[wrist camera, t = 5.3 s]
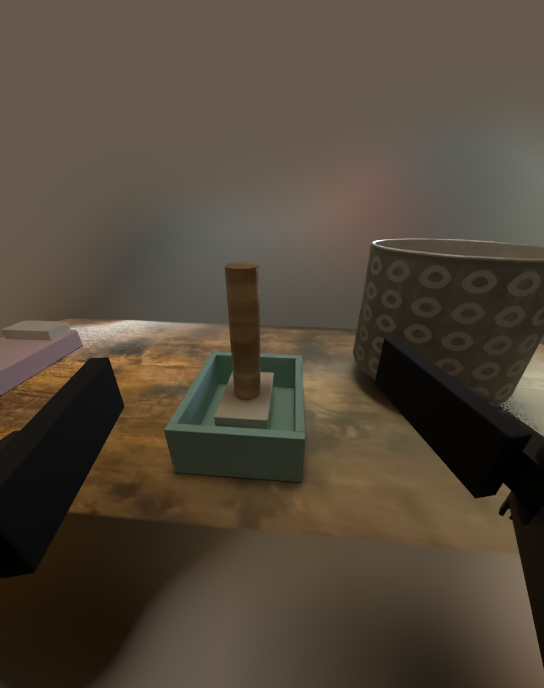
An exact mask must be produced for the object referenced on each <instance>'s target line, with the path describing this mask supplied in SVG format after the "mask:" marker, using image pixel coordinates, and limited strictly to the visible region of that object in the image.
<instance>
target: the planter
mask: <svg viewBox="0 0 544 688" xmlns="http://www.w3.org/2000/svg"><path fill="white" fill-rule="evenodd" d="M543 336H544V246H536V245H526V244H515V243H503V242H489V241H472V240H449V239H389V240H379V241H374V242H372V244H371V249H370V255H369V261H368V267H367V273H366V278H365V285H364V290H363V297H362V302H361V309H360V314H359V320H358V326H357V332H356V338H355V344H354V350H353V355H354V358H355V361H356V362H357V364H358V365H359V367H360V368H361V369H362V370H363V371H364V372H365V373H367V374H368V375H369V376H370V377H372V378H373V379H375V378H376V373H377V369H378V364H379V360H380V355H381V351H382V346H383V341H384V338H397V337H398V338H399V339H401V340H402V341H404V342H405V343H406V344H408V345H409V346H410V347H412V348H413V349H415V350H416V351H417V352H419V353H420V354H422V355H423V356H424V357H426V358H427V359H429V360H430V361H431V362H433V363H434V364H435V365H437V366H438V367H440V368H441V369H442V370H444V371H445V372H447V373H448V374H449V375H451V376H452V377H454V378H455V379H456V380H458V381H459V382H460V383H462V384H463V385H466V386H468V387H470V388H472V389H474V390H476V391H479V392H480V393H482V394H483V395H485V396H486V397H488V398H489V399H490V400H492V402H493V403H496V404H497V405H498V404H500V403H503V402H505V401H506V400H507V399H509V398H510V397H511V396H512V394H513V392H514V390H515V388H516V386H517V384H518V383H519V381H520V379H521V377H522V375H523V373H524V371H525V369H526V368H527V366H528V364H529V362H530V360H531V358H532V356H533V354H534V352H535V351H536V349H537V347H538V345H539V343H540V341H541V339H542V337H543Z"/></svg>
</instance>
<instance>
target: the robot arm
mask: <svg viewBox="0 0 544 688" xmlns="http://www.w3.org/2000/svg"><path fill="white" fill-rule="evenodd" d="M374 383H375V384H376V385H377V386H378V388H379V389H380V390H381V391H382V392H383V393H384V394H385V396H386V397H387V398H388V399H389V400H390V401H391V402H392V404H393V405H394V406H395V407H396V408H397V409H398V410H399V412H400V413H401V414H402V415H403V416H404V417H405V418H406V420H407V421H408V422H409V423H410V424H411V425H412V426H413V428H414V429H415V430H416V431H417V432H418V433H419V434H420V436H421V437H422V438H423V439H424V440H425V441H426V443H427V444H428V445H429V446H430V447H431V448H432V449H433V451H434V452H435V453H436V454H437V455H438V456H439V457H440V459H441V460H442V461H443V462H444V463H445V464H446V465H447V467H448V468H449V469H450V470H451V471H452V472H453V473H454V475H455V476H456V477H457V478H458V479H459V480H460V481H461V483H462V484H463V485H464V486H465V487H466V488H467V489H468V491H469V492H470V493H471V494H472V495H473V496H474V497H475V498H480V497H486V496H492V495H496V493H497V491H498V490H499V488H500V487H501V485H502V483H504V484H505V485H506V486H507V487H508V488H509V489H510V490H511V492H510V494H509V495H508V497H507V498H506V500H505V501H504V503H503V504H502V506H501V507H500V509H499V514H500V515H502V516H503V515H504V514H505V512H506V511H507V510H508V509H510V511H511V516H510V517H509V519H511V520H513V525H514V530H515V534H516V539H517V544H518V549H519V553H520V558H521V563H522V567H523V572H524V577H525V582H526V586H527V591H528V595H529V601H530V605H531V610H532V615H533V620H534V624H535V629H536V634H537V639H538V643H539V648H540V652H541V658H542V662H543V667H544V437H543V436H542V435H540V434H539V433H537V432H536V431H534V430H533V429H532V428H530V427H529V426H527V425H526V424H525V423H523V422H522V421H520V420H519V419H517V418H516V417H515V416H513V415H512V414H510V413H509V412H507V411H506V410H503V408H502V407H500V406H499V405H497V404H496V403H493V402H492V400H490V399H489V398H488V397H486V396H485V395H483V394H482V393H480V392H479V391H476V390H474V389H472V388H470V387H468V386H466V385H463V384H462V383H460V382H459V381H458V380H456V379H455V378H454V377H452V376H451V375H449V374H448V373H447V372H445V371H444V370H442V369H441V368H440V367H438V366H437V365H435V364H434V363H433V362H431V361H430V360H429V359H427V358H426V357H424V356H423V355H422V354H420V353H419V352H417V351H416V350H415V349H413V348H412V347H410V346H409V345H408V344H406V343H405V342H404V341H402V340H401V339H399V338H398V337H397V338H384V341H383V346H382V351H381V355H380V360H379V364H378V369H377V373H376V378H375V382H374ZM123 408H124V403H123V400H122V397H121V394H120V391H119V388H118V385H117V382H116V379H115V376H114V372H113V369H112V366H111V363H110V360H109V357H106V358H92V359H89V360H88V361H87V362H86V363H85V364H84V365H83V366H82V367H81V368H80V369H79V370H78V371H77V372H76V373H75V375H74V376H73V377H72V378H71V379H70V380H69V381H68V382H67V383H66V384H65V385H64V386H63V387H62V388H61V389H60V390H59V391H58V392H57V393H56V394H55V395H54V396H53V397H52V398H51V399H50V401H49V402H48V403H47V404H46V405H45V406H44V407H43V408H42V409H41V410H40V411H39V412H38V413H37V414H36V415H35V416H34V417H33V418H32V419H31V420H30V421H29V422H28V423H27V424H26V426H25V427H24V428H23V429H22V430H21V431H13V432H12V433H10V434H9V435H7V436H6V437H4V438H3V439H1V440H0V577H1V578H7V577H13V576H19V575H25V574H31V573H35V571H36V569H37V567H38V566H39V564H40V562H41V560H42V558H43V556H44V554H45V553H46V551H47V549H48V547H49V545H50V543H51V542H52V540H53V538H54V536H55V534H56V532H57V530H58V529H59V527H60V525H61V523H62V521H63V519H64V517H65V516H66V514H67V512H68V510H69V508H70V506H71V504H72V503H73V501H74V499H75V497H76V495H77V493H78V492H79V490H80V488H81V486H82V484H83V482H84V480H85V479H86V477H87V475H88V473H89V471H90V469H91V467H92V466H93V464H94V462H95V460H96V458H97V456H98V454H99V453H100V451H101V449H102V447H103V445H104V443H105V441H106V440H107V438H108V436H109V434H110V432H111V430H112V429H113V427H114V425H115V423H116V421H117V419H118V417H119V416H120V414H121V412H122V410H123Z"/></svg>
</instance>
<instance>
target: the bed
mask: <svg viewBox="0 0 544 688" xmlns="http://www.w3.org/2000/svg"><path fill="white" fill-rule="evenodd" d="M1 330H2V332H3V334H4V337H2V338H0V396H1V395H3V394H4V393H6V392H8V391H9V390H11V389H12V388H14V387H16V386H17V385H19V384H21V383H22V382H24V381H25V380H27V379H29V378H30V377H32V376H34V375H35V374H37V373H39V372H40V371H42V370H43V369H45V368H47V367H48V366H50V365H52V364H53V363H55V362H56V361H58V360H60V359H61V358H63V357H65V356H66V355H68V354H70V353H71V352H73V351H74V350H76V349H78V348H79V347H81V346H82V343H81V340H80V337H79V334H78V332H77V330H70V327H69V325H68V322H52V321H51V322H50V321H22V322H19V323H17V324H14V325H11V326H9V327H6V328H4V329H1Z"/></svg>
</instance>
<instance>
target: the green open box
mask: <svg viewBox="0 0 544 688" xmlns="http://www.w3.org/2000/svg"><path fill="white" fill-rule="evenodd" d="M232 371H233V369H232V356H231V353H230V352H211V354H210V356H209V357H208V359H207V361H206V362H205V364H204V366H203V367H202V369H201V370H200V372H199V374H198V375H197V377H196V379H195V380H194V382H193V384H192V385H191V387H190V388H189V390H188V392H187V393H186V395H185V397H184V398H183V400H182V402H181V403H180V405H179V406H178V408H177V410H176V411H175V413H174V415H173V416H172V418H171V420H170V421H169V423H168V424H167V426H166V427H165V429H164V431H165V435H166V439H167V443H168V447H169V452H170V456H171V460H172V464H173V466H174V471H175V472H178V473H190V474H203V475H215V476H228V477H241V478H253V479H266V480H278V481H291V482H302V472H303V460H304V449H305V420H304V397H303V374H302V356H298V355H275V354H260V371H261V372H271V373H274V398H273V406H272V415H271V423H270V430H267V429H251V428H236V427H221V426H215V420H214V416H215V413H216V411H217V408H218V406H219V403H220V401H221V399H222V396H223V394H224V391H225V389H226V386H227V384H228V381H229V379H230V376H231V374H232Z"/></svg>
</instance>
